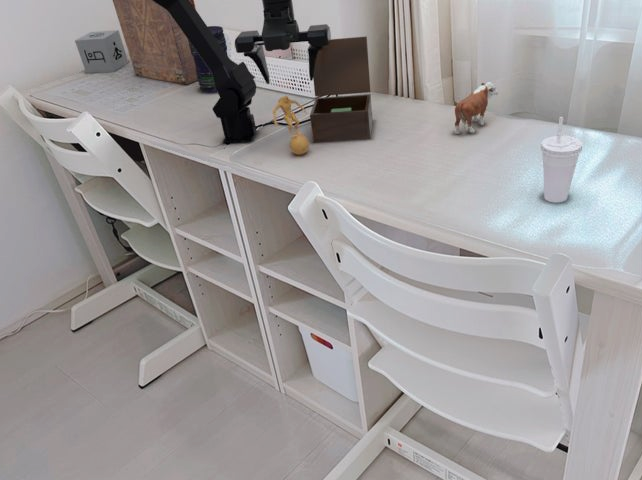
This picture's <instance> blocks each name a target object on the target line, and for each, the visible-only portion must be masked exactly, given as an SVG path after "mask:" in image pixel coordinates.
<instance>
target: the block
mask: <svg viewBox="0 0 642 480" xmlns="http://www.w3.org/2000/svg"><path fill="white" fill-rule="evenodd" d="M343 111H352V108H340V109H332V110H331V112H343Z"/></svg>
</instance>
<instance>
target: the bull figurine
mask: <svg viewBox="0 0 642 480" xmlns="http://www.w3.org/2000/svg"><path fill="white" fill-rule="evenodd" d="M497 95H499V90H498V89H497V88H496V85H495V84H494V83H493V82H491V81H487V82H486V83H485V82H482V83H481V84H480V85H479V86H478V87H477V88H476V89H475V90H473V91H472V92H471V93H470V94H469V95H468V96H466V97H465V98H463V99H461V100H460V101H459V102H457V104H456V106H455V107H454V115H455V122H454V128H455V130H454V134H455V135H460V134H461V131H460V129H459V126H460V123H462V124H463V127H464V129H465V131H468V132H469V133H472V134H474V133H476V130H475V129H474V128H473V126H472V121H473V122H476V123H477V122H478V124H479V125H480V126H485V123H484V117H485V113H486V110H487V107H488V105H489V99H491V98H492V97H493V96H497ZM477 116H479V120H478V117H477Z"/></svg>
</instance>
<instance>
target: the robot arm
mask: <svg viewBox="0 0 642 480" xmlns="http://www.w3.org/2000/svg"><path fill="white" fill-rule="evenodd" d="M152 1H154V2H155V3H157V4H158V5H160V6H161V7H163V8H164V9H166V10H167V11H168V12H169V13H170V15H171V16H172V18H173V19H174V20H175V22H176V23H177V25H178V26H179V27H180V29H181V30H182V32H183V33H184V34H185V36H186V37H187V39H188V40H189V41H190V43H191V44H192V46H193V47H194V49H195V50H196V51H197V53H198V54H199V56H200V57H201V58H202V60H203V61H204V63H205V64H206V65H207V67H208V68H209V70H210V71H211V73H212V76H213V81H214V85H215V89H216V91H217V93H216V94H217V95H218V97H219V98H218V100H216V102H215V104H214V106H213V107H212V111H213V113H214V115H215V117H216V118H217V119H220V123H221V127H222V132H223V137H224V138H223V140H222V143H223V144H236V143H249V142H252V141H253V139H254V137H255V135H256V133H257V127H256V121H255V117H254V114H253V113H251V109H250V107H249V106H250V105H252V102H253V98H254V96H255V95H256V92H257V83H256V81H255V80H254V79H255V78H256V76H255V75H254V74H252V72H250V70H249V68H248V66H247V64H246V63H245V62H244V61H241V62H240V63H237V62H236V61H233V60H232V59H231V58H230V57H229V55H228V53H227V54H226V53H225V51H224V50H223V49H222V47H221V46H220V44H219V43H218V41H217V40H216V38H215V37H214V35H213V34H212V33H211V31H210V30H209V28H208V25H207V24H206V22H205V21H204V19H203V18H202V17H201V15H200V14H199V12H198V10H197V8H196V7H195V8H196V9H195V8H194V6H193V5H192V4H191V2H190V1H189V0H152ZM261 1H262V8H263V11H262V12H263V25H262V31H261V34H260V32H259V31H258V30H257V29H256V30H245V31H240V33H239V34H238V35H237V36H236V38H235V40H234V47H235V51H236V54H243V56H244V57H247V58H250V59H251V60H252V61H253V62H254V64H255V65H256V67H257V68H258V70H259V72H260V74H261V76H262V77H263V80H264V82H265V84H267V85H270V81H271V80H270V73H269V69H268V63H267V59H266V55H265V51H266V52H273V51H279V50H281V51H287V50H289V48H290V47H291V43H292V44H293V43H304V42H307V43H308V44H309V46H308V48H307V54H308V76H309V81H313V75H314V69H315V63H316V58H317V54H318V51H319V50H322V49H323V47H324V46H326V45H329V42H330V39H332V32H331V28H330V26H329V25H328V24H324V23H323V24H314V25H309V26H308V29H307V30H303V31H300V29H299V24H298V21H297V19H296V18H295V12H294V4H293V0H261ZM264 49H265V51H264ZM227 55H228V56H227Z"/></svg>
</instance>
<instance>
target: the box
mask: <svg viewBox="0 0 642 480" xmlns="http://www.w3.org/2000/svg"><path fill="white" fill-rule="evenodd" d="M371 95H372V94H371V93H363V94H350V95H336V96H322V97H316V98H315V99H314V102H313V105H312V108H311V110H310V113H309V119H310V126H311V133H312V140H313V141H312V142H313V144H314V143H331V142H345V141H346V142H347V141H361V140H371V139H372V131H373V129H372V128H373V122H374V120H373V108H372V96H371ZM340 108H352V111H343V112H331V110H332V109H340Z"/></svg>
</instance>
